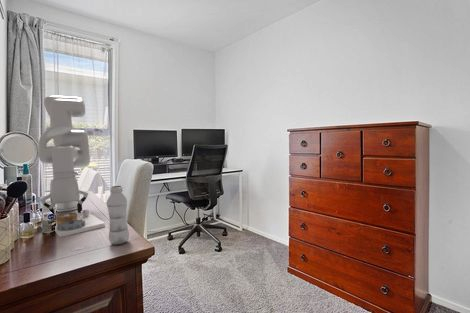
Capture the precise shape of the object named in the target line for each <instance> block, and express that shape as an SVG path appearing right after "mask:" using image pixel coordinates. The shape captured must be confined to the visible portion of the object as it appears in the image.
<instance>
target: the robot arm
mask: <svg viewBox="0 0 470 313" xmlns="http://www.w3.org/2000/svg"><path fill="white" fill-rule="evenodd" d="M43 99H44V100H43V105H44V107H45V110H46V112H47V114H48V117H49V120H50V121H49V123H50V124H49V125H50V126H49V127H48V128H47V129H45V131H44V132H43V133H42V134H41V135H40V137H39V140H38V158H39V160H40V162H41V163H43V164H49V165H50V164H51V165H52V178H53V179H51V180H50V187H49V193H48V194H47V195H46V196H44V197H42V198H40V199H39V201H40V203H41V204H42V205H43V206H44V207H45V208H47V209H48V211H49V210H50V211H51V212H52V213H53V214H54V215H55V211H54V209H53V208H55V207H56V211H57V212H58V213H61V212H69V211H74V210H77V214H81V213H82V212H83V204H84V202H85V201H86V200H87V198H88V195H89V192H86V191H83V190H80V188H79V183H78V180H77V176H78V175H79V171H75V168H85V167H88V166H89V165H90V161H91V159H90V156H91V155H90V146H89V145H90V144H89V136H88V134H87V132H86V131H85V130H81V129H73V122H72V118H83V117H84V116H85V114H86V106H85V103H84V99H83V98H82V97H79V96H65V95H49V96H45V97H44V98H43ZM51 140H53V144H54V146H52V145H51V146H47V144H48V143H49V142H50V141H51ZM77 148H78V149H77ZM81 195H82V198H81V199H80V196H81ZM47 200H50V203H52V204H51V205H49V204H50V203H48V202H46V201H47ZM55 205H56V206H55ZM57 212H56V213H57Z"/></svg>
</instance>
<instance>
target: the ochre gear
mask: <svg viewBox="0 0 470 313" xmlns="http://www.w3.org/2000/svg"><path fill="white" fill-rule="evenodd" d="M67 214H69V215H70V216H65V217H63V215H67ZM77 217H78V213H76V212H67V213H66V212H65V213H60V214H59V215H56V216H55V221H56V223H57V225H58V224H61V223H62V222H67V221H69V220H77Z"/></svg>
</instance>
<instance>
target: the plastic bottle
mask: <svg viewBox="0 0 470 313" xmlns="http://www.w3.org/2000/svg"><path fill="white" fill-rule="evenodd" d="M123 191H124V190H123V186H122V185H113V186H111V187H110V192H109V193H110V195H109V196H108V199H107V200H106V206H107V212H108V218H109V232H108V241H109V242H110V244H111V245H123V244H126V243H127V242H128V241H129V238H130V230H129V228H128V222H127V221H128V220H127V209H128V208H127V207H128V200H127V197H126V195H124V193H123Z"/></svg>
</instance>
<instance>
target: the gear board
mask: <svg viewBox="0 0 470 313" xmlns="http://www.w3.org/2000/svg"><path fill="white" fill-rule="evenodd" d="M89 212H90V209H82V215H77V220H69V221H67V222H62V223H61V224H58V225H57V223H56V226H55V230H54V231H55V233H56V234H57V236H58V238H62V237H66V236H70V235H75V234H78V233H83V232H84V233H85V232H87V231H92V230H96V229H100V228H101V229H102V228H104V227H105V228H106V224H105V222H104V221H102V220H101V219H99V218H98V217H96V216H95V215H94V214H92V213H89ZM65 216H70V215H69V214H67V215H63V217H65Z"/></svg>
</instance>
